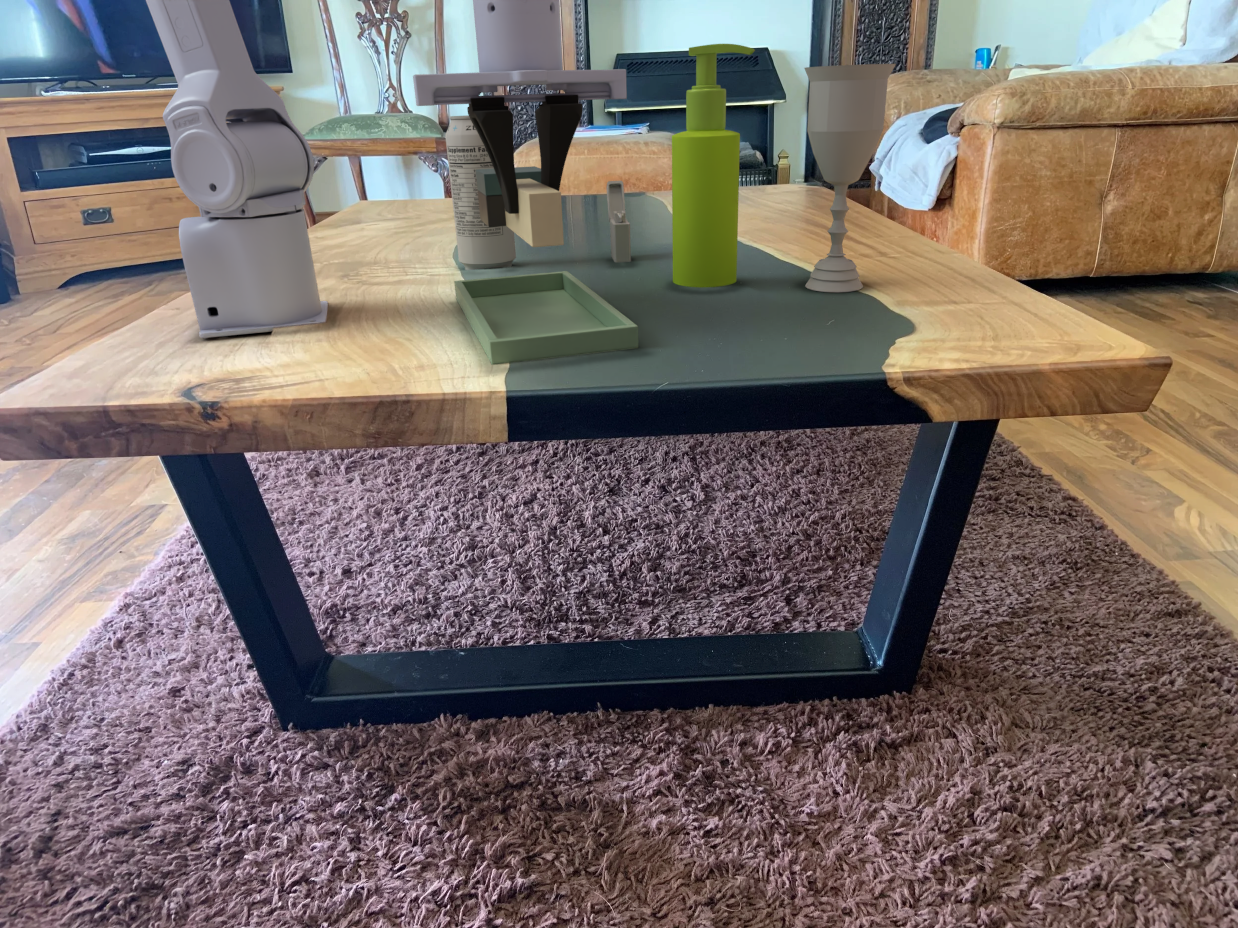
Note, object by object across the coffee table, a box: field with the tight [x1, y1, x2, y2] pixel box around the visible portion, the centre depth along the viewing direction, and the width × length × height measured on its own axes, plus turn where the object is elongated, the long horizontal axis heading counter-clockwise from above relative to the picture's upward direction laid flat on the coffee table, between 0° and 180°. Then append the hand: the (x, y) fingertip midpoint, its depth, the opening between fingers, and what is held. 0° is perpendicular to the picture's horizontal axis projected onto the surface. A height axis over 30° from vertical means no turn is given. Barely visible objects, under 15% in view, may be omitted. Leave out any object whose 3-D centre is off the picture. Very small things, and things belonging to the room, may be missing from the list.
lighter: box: [606, 180, 632, 263], centre depth 89 cm, size 7×2×8 cm, turn 6°
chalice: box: [803, 63, 897, 293], centre depth 72 cm, size 7×7×18 cm
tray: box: [453, 270, 639, 366], centre depth 65 cm, size 21×10×2 cm, turn 17°
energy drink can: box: [444, 114, 517, 271], centre depth 86 cm, size 6×6×15 cm
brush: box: [476, 165, 565, 248], centre depth 63 cm, size 16×5×4 cm, turn 16°
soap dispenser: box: [671, 43, 756, 288], centre depth 73 cm, size 6×7×20 cm
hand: (530, 211), depth 61 cm, fingers closed on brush, 2 cm apart
